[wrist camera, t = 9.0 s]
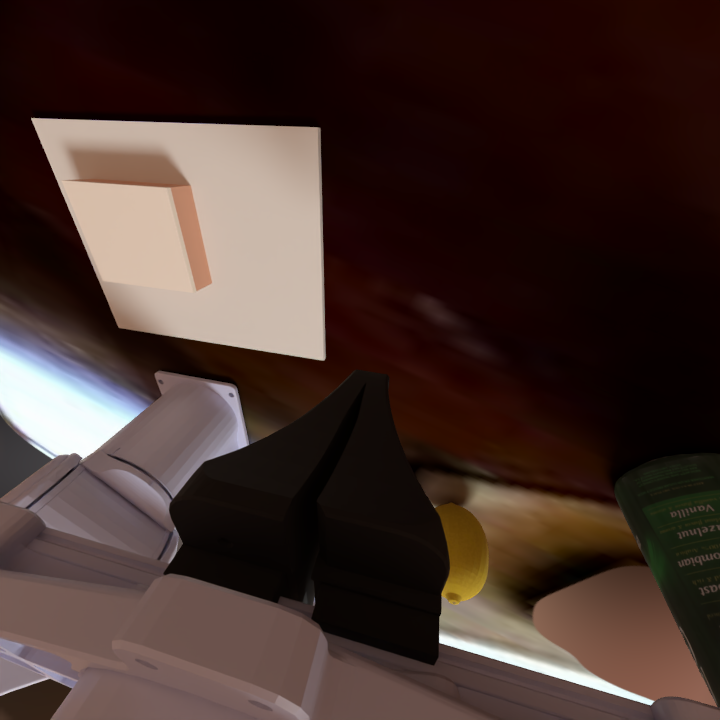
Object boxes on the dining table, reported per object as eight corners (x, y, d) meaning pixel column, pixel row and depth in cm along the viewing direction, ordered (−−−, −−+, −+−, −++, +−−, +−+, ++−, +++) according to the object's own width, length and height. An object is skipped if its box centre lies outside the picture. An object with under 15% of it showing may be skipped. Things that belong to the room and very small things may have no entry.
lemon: (467, 528, 31) (473, 629, 24) (413, 509, 31) (405, 602, 24) (494, 498, 28) (510, 603, 21) (434, 476, 28) (431, 574, 21)
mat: (325, 357, 24) (323, 360, 23) (122, 325, 27) (118, 327, 26) (320, 127, 16) (317, 127, 16) (38, 119, 19) (30, 118, 19)
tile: (193, 293, 20) (102, 280, 22) (212, 283, 22) (126, 272, 23) (166, 187, 17) (61, 180, 18) (190, 185, 19) (93, 178, 20)
